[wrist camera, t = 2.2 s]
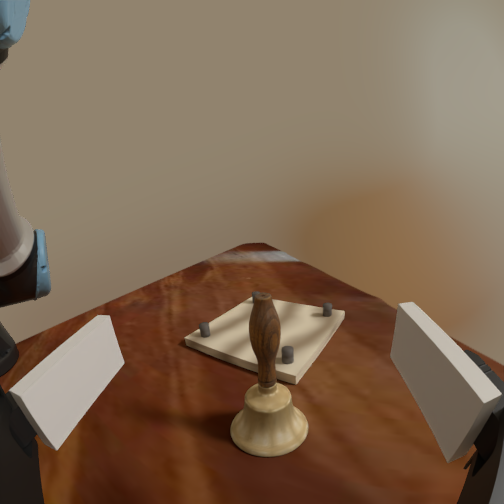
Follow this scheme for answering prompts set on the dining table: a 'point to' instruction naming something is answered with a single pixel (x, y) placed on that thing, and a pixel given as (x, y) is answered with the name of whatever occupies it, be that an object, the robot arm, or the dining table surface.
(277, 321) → the hand bell
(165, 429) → the dining table surface
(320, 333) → the board
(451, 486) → the dining table surface
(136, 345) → the dining table surface
